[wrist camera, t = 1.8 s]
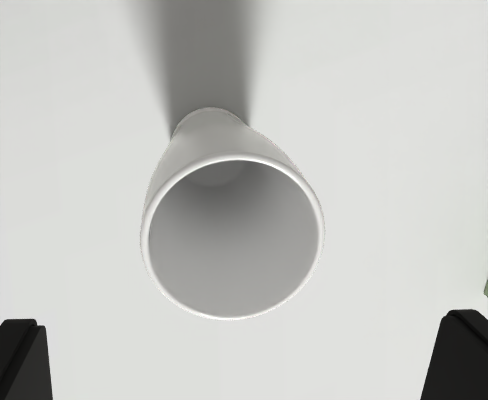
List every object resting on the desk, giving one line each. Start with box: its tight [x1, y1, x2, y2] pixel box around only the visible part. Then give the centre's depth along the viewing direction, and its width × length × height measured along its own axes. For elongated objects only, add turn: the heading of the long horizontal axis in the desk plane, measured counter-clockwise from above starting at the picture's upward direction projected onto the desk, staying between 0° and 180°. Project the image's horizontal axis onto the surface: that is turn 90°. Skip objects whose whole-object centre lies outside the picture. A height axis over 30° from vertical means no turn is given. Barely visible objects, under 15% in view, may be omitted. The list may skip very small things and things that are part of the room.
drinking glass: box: [140, 107, 325, 320], centre depth 22 cm, size 7×7×15 cm
